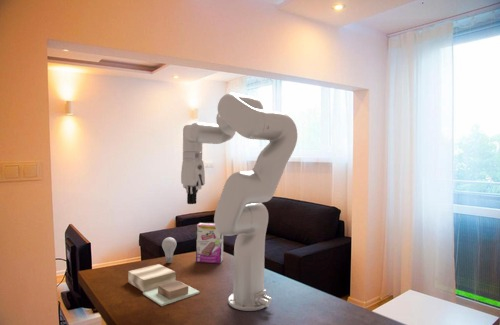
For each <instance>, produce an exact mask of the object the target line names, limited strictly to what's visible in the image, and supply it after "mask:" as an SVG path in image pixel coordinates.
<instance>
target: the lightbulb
mask: <svg viewBox="0 0 500 325" xmlns="http://www.w3.org/2000/svg"><path fill="white" fill-rule="evenodd" d="M161 247H162V249H163V252H164V255H165V256H164V257H165V263H167V264H171V263H172V262H173V256H174V252H175V250H176V248H177V240H176V239H175V238H174V237H171V236H169V237H166V238H164V239H163V240H162V242H161Z"/></svg>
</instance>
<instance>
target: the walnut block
mask: <svg viewBox="0 0 500 325" xmlns="http://www.w3.org/2000/svg"><path fill="white" fill-rule="evenodd" d="M181 282H182V281H180V282H179V280H176V281H172V282H169V283H165V284H162V285H158V293H159V294H161V295H162V296H164V297H165V298H167V299H169V300H170V299H173V298H176V297H179V296H182V295H185V294H188V286H189V285H188V284H186V285H185V283H184V284H183V282H182V283H181ZM187 285H188V286H187Z"/></svg>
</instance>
